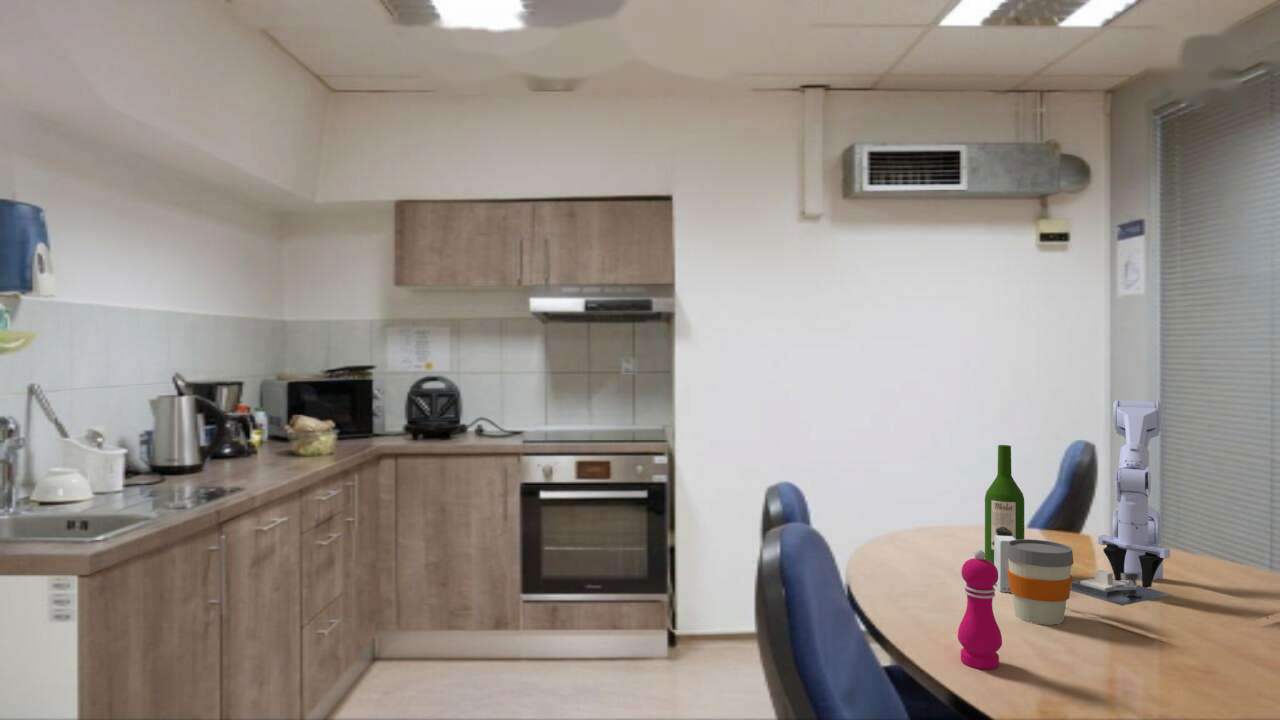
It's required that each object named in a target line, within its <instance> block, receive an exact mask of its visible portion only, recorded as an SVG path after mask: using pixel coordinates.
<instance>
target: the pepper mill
mask: <svg viewBox="0 0 1280 720" xmlns="http://www.w3.org/2000/svg"><path fill="white" fill-rule="evenodd" d="M973 554H974V558H970V559H967V560H966V561H965V562H964V563H963V564H962V567H961V572H960V573H961V577H962V579H963V580H964V582H965V584H964V594H965V595H966V597H967V601H966V602H967V603H966V609H965V613H964V616H963V617H962V620H961V622H960V624H959V627H958V631H957V640H958V642H959V643H960V644H961V646H962V648H961V649H960V661H961V662H962V664H963V665H966V666H967V667H971V668H974V669H977V670H978V669H979V670H995V669H998V668H999V666H1000V654H998V653H997V652H998V651H999V650H1000V649H1001V647H1002V645H1003V636H1002V633H1001V629H1000V627H999V625H998V623H997V620H996V618H995V615H994V614H995V613H994V609H993V599H994V598H995V597H996V592H995V591H996V587H995V584H997V581H998V570H997V568H996V566H995V565H994V564H993V563H992V562H990V561H988V560H986V559H985V551H983V550H981V549H977V550H975V551H974V553H973Z"/></svg>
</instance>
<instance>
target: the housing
mask: <svg viewBox="0 0 1280 720" xmlns="http://www.w3.org/2000/svg"><path fill="white" fill-rule="evenodd" d="M1089 579H1090V578H1087V579H1082V580H1076V581H1072V582H1071V589H1070V592H1074V593H1077V594H1081V595H1084V596H1087V597H1091V598H1094V599H1098V600H1100V601H1101V600H1102V601H1105V602H1108V603H1110V604H1114V605H1118V606H1126V605H1131V604H1137V603H1140V602H1146V601H1150V600H1157V599H1161V598H1166V597H1170V596H1173V594H1172V593H1168V592H1165V591H1161V590H1157V589H1153V588H1151V587H1147V588H1145V587H1143V586H1142V585H1138V584H1137V594H1130V593H1129V590H1115V589H1114V590H1108V591H1104V590H1101V589H1097V588H1094V587H1090V586H1087V585H1083V584H1080V581H1084V580H1089ZM1091 579H1095V577H1093V578H1091ZM1113 580H1115V578H1113ZM1115 581H1118V580H1115ZM1119 582H1123V583H1127V584H1128V585H1129V582H1127V581H1124V580H1119Z"/></svg>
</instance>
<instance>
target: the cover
mask: <svg viewBox="0 0 1280 720" xmlns="http://www.w3.org/2000/svg"><path fill="white" fill-rule="evenodd" d="M1094 578H1095V579H1092V578H1088V579H1089V580H1086V579H1083V580H1084V581H1081V580H1079V581H1080V584H1083V585H1087V586H1090V587H1094V588H1097V589H1101V590H1104V591H1108V590H1114V589H1112V586H1122V585H1128V584H1127V583H1128V582H1127V583H1123V582H1124V581H1123V582H1119V581H1120V580H1119V581H1115V580H1113V579H1114V573H1112V572H1111V571H1110V572H1108V571H1106V570H1100V569H1099V570H1098V569H1097V570H1094Z"/></svg>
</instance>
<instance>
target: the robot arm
mask: <svg viewBox="0 0 1280 720" xmlns="http://www.w3.org/2000/svg"><path fill="white" fill-rule="evenodd" d="M1112 407H1113V408H1112V415H1113V417H1112V418H1113V420H1112V421H1113V424H1114V429H1115V432H1116V434H1117V435H1119V436H1121V437H1123V438H1124V439H1125V444H1124V445H1122V446H1121V448H1120V449H1119V459H1118V460H1119V463H1118V469H1116V471H1115V479H1114V481H1115V485H1114V486H1115V490H1116V501H1117V502H1118V503H1117V507H1116V508H1115V509H1114V511H1113V517H1112V536H1111V535H1106V534H1103V535H1098V540H1097V541H1098V545H1101V546H1102V545H1103V546H1106V547H1104V548H1103V554H1105V556H1106V558H1107V559H1108V562H1109V564H1110V566H1111V569H1112V572H1113V578H1114V579H1115V580H1118V581H1123V580H1122V579H1121V573H1124V572H1142V580H1137V582H1141V584H1142V585H1141V586H1142V587H1145V588H1151V587H1152V585H1153V581H1155V580H1157V579H1161V580H1164V560H1165V559H1170V558H1171V549H1170V548H1169V547H1168V548H1167V547H1164V546H1160V545H1161V543H1162V542H1161V541H1162V522H1161V515H1160V513H1159V511H1156V510H1155V509H1154V508H1153V507H1151V506H1150V505H1149V496H1150V494H1151V489H1152V488H1151V487H1152V486H1151V485H1152V481H1151V480H1152V479H1151V478H1152V477H1151V470H1150V450H1149V448H1148V447H1149V445H1150V442H1151V439H1153V438H1156V437H1158V436H1159V435H1160V432H1161V425H1162V403H1161V402H1160V401H1159V400H1155V401H1152V400H1121V399H1120V400H1119V399H1115V400H1114V402H1113V406H1112Z"/></svg>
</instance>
